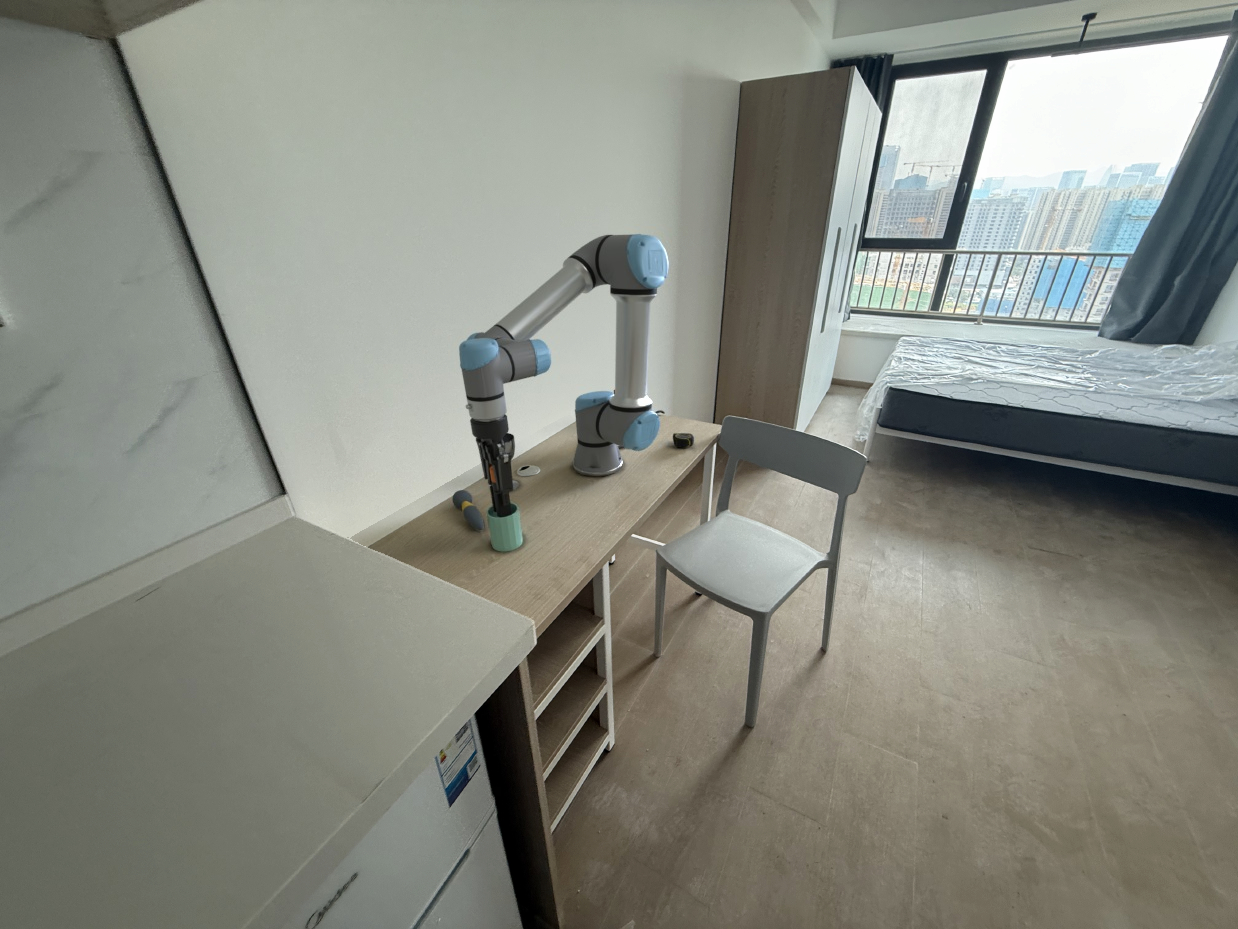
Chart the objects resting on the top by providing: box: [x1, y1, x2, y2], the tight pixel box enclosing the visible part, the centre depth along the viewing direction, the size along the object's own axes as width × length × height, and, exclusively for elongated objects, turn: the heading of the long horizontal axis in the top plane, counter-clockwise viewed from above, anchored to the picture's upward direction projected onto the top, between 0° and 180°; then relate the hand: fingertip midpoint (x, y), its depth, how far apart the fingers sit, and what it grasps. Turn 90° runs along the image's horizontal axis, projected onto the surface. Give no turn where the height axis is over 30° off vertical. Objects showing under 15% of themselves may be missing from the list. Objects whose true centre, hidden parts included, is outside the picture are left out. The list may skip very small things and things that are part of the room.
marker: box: [490, 466, 500, 517], centre depth 108 cm, size 3×3×12 cm
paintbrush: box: [451, 489, 485, 532], centre depth 124 cm, size 20×5×5 cm, turn 38°
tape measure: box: [672, 432, 695, 449], centre depth 161 cm, size 7×7×4 cm
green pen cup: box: [485, 501, 524, 552], centre depth 112 cm, size 7×7×9 cm
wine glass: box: [502, 432, 520, 491], centre depth 136 cm, size 8×8×15 cm
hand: (502, 512), depth 111 cm, fingers closed on marker, 2 cm apart
